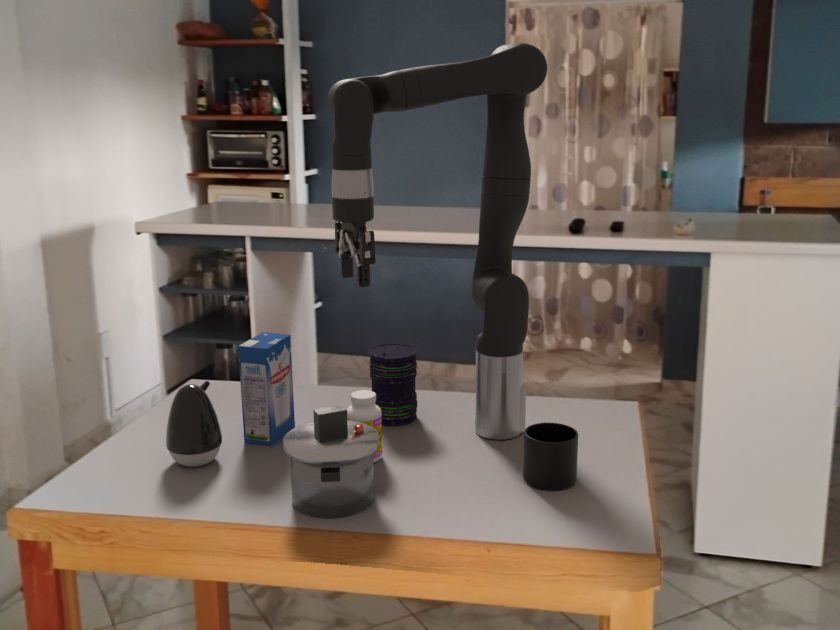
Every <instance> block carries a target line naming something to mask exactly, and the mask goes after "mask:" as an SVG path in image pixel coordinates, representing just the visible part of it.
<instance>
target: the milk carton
mask: <svg viewBox="0 0 840 630" xmlns="http://www.w3.org/2000/svg"><path fill="white" fill-rule="evenodd" d="M291 338H292V337H291V334H286V333H277V332H276V333H275V332H266V331H265V332H263V331H262V332H260V333H259V334H257V335H255V336H253V337H252V338H250V339H248V340H246V341H244V342H243V343H241V344H239V345H238V346H237V349H238V363H239V365H238V367H239V381H240V383H239V384H240V393H241V394H240V396H241V408H242V409H241V411H242V426H243V427H242V428H243V438H244V439H243V441H244V443H247V444H254V445H255V444H256V445H263V446H270V447H273V446H274V445H276V444H277V443H278V442H279V441H281V440H283V439H284V436H285V435H286V434H287V433H288V432H289V431H291V430H292V429H294V428H296V425H295V423H296V422H295V421H296V420H295V402H294V399H295V398H294V382H293V380H294V379H293V360H292V359H293V357H292V341H291Z"/></svg>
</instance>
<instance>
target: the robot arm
mask: <svg viewBox="0 0 840 630" xmlns="http://www.w3.org/2000/svg"><path fill="white" fill-rule="evenodd" d="M547 73H548V62H547V59H546V56H545V55H544V53H543V52H542V50H541V49H539V48H537V47H536V46H535V45H533V44H529V43H527V42H515V43H507V44H503V45H500V46H499V47H497V48H495V50H494V51H492V53H491V55H489V56H484V57H480V58H477V59H471V60H466V61H459V62H449V63H440V64H431V65H421V66H416V67H410V68H409V67H408V68H404V69H399V70H393V71H389V72H386V73H383V74H379V75H370V76H359V77H352V78H345V79H342V80H338V81H337V82H335V83H334V84H333V85H332V86H331V88H330V89H329V91H328V93H327V105H328V108H329V110H330V112H331V113H332V114H333V115H334V137H333V140H332V142H331V143H332V144H331V165H332V166H331V168H332V171H331V172H332V173H331V200H332V201H331V204H332V205H331V206H332V208H331V209H332V220H333V221H335V222H334V251H335V253H336V254H337V255H338V257H339V258H340V275H341V278H343V279H349V278H352V277H354V260H355V262H356V272H357V273H356V277H357V280H356V281H357V286H358V287H360V288H367V287H370V286H371V266H372V265H375V264H376V244H375V242H376V241H375V231H374V230H368V229H367V225H366V224H367V223H368V222H371V221H373V220H374V219H375V199H374V197H375V196H374V195H375V191H374V190H375V189H374V175H373V168H372V165H373V164H372V162H373V161H372V146H371V143H372V142H371V139H372V132H373V124H374V123H373V121H374V115H375V114H381V113H386V112H387V113H396V112H404V111H405V112H406V111H409V110H414V109H421V108H425V107H430V106H434V105H439V104H443V103H448V102H451V101H457V100H462V99H467V98H470V97H478V96H486V108H487V110H486V116H487V119H486V131H485V140H484V150H483V151H484V152H483V164H482V173H481V186H480V208H479V220H478V221H479V222H478V223H479V224H478V225H479V227H478V242H477V243H478V244H477V249H476V257H475V263H474V268H473V272H472V273H473V274H472V279H471V287H470V293H471V298H472V301H473V303H474V304H475V306H476V307H477V308H478V309H479V310H480V311H482V312H483V327H482V332H481V333H479V334H478V335H477V336H476V340H475V420H474V424H475V433H476V434H477V435H478V436H480V437H482V438H485V439H488V440H489V439H491V440H499V441H500V440H509V439H514V438H516V437H518V436H520V434H522V433H523V434H524V431H525V429H526V412H527V411H526V409H527V406H526V405H527V404H526V403H527V388H526V387H525V386H524V385H523V363H524V362H523V358H524V355H523V354H524V351H523V350H524V343H525V340H526V339H527V334H528V325H529V323H528V322H529V308H530V295H529V289H528V286H527V284H526V282H525V280H523V279H522V278H521V277H520V276H518V275H516V274H515V273H513V248H514V243H515V240H516V239H515V238H516V236H517V232H518V230H519V229H520V226H521V225H522V224H521V223H522V222H523V219H524V217H525V215H526V212H527V210H528V206H529V201H530V193H531V192H530V190H531V181H532V179H531V178H532V162H531V155H530V151H529V145H528V139H527V137H526V131H525V110H526V100H527V95H529V94H531V93H533V92H535V91H537V89H539V88H540V87H541V86H542V85H543V84H544V81H545V80H546V77H547ZM353 258H355V259H353Z"/></svg>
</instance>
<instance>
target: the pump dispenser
mask: <svg viewBox="0 0 840 630" xmlns="http://www.w3.org/2000/svg"><path fill="white" fill-rule="evenodd" d="M210 385H211V382H209V381H208V380H205V381H204V382H203V383H201V385H200V386H199V385H197V384H193V383H191V384H186V385H183V386H181V387H180V388H179V389H178V390H177V392H176V393H175V396H174V397H173V399H172V402H171V406H170V409H169V413H168V418H167V423H166V434H165V445H166V449H167V450H168V452H169V454H170V456H171V458H172V459H173V460H174V461H175V462H176V463H178V464H179V465H181V466H185V467H188V468H193V467H194V468H195V467H196V468H197V467H202V466H205V465H208V464H209V463H211V462H212V461H213V460H214V459H215V458H216V457H217V456H218V454H219V452H220V450H221V445H222V443H223V435H222V429H221V424H220V421H219V417H218V414H217V411H216V409H215V407H214V405H213V403H212V400H211V399H210V397H209V395H208V394H207V392H206V391H207V390H208V389H209V387H210Z"/></svg>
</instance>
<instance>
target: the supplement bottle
mask: <svg viewBox="0 0 840 630" xmlns="http://www.w3.org/2000/svg"><path fill="white" fill-rule="evenodd" d="M350 402H351V405H349V407H348V408H346V409H347V420H350V421H356V422H361V423H364V424H367V425H369V426H371V427H373V428H374V429H375V430H376V431H377V432H378V434H379V446H378V448H377V449H376V450H375V451H374V452H373V464H374V463H376V462H379V461H380V460H381V459H382V457H383V426H382V414H381V409H380V407H379V406H377V405H376V404H375V402H376V393H375V392H373V391H372V390H367V389H366V390H365V389H362V390H356V391H353V392H352V393H350Z"/></svg>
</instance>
